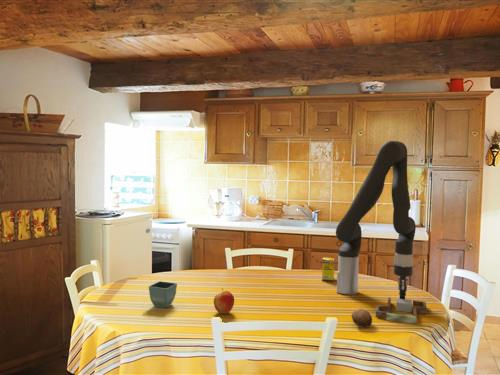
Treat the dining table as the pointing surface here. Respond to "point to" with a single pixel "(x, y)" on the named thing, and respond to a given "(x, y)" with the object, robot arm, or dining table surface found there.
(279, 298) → the dining table surface
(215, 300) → the apple
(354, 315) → the brown oval ball
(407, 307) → the block
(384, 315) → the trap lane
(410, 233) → the robot arm
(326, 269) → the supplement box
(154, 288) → the flower pot
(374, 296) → the dining table surface
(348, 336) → the dining table surface
